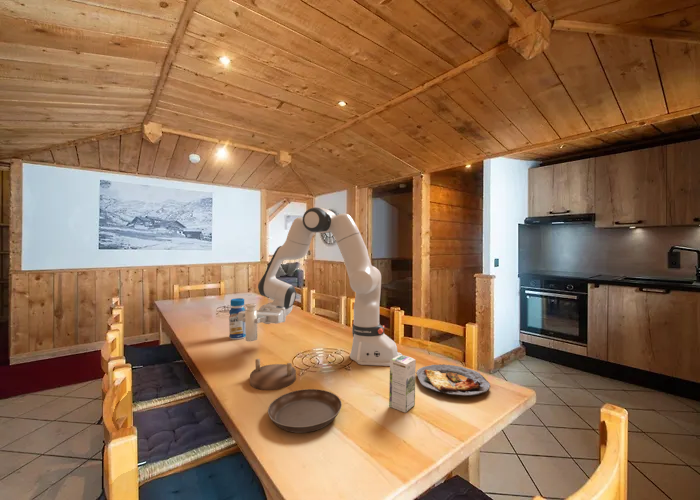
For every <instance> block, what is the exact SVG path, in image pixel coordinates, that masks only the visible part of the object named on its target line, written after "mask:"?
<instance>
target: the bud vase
mask: <svg viewBox="0 0 700 500" xmlns="http://www.w3.org/2000/svg"><path fill="white" fill-rule="evenodd" d="M256 306H257V304H256V303H247V304H245V307H246V309H245V310H246V311H245V332H246V337H245V341H246V342H255V341H257V340H258V323H255V319H256V318H257V310H258V309H256Z"/></svg>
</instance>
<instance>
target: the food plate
mask: <svg viewBox="0 0 700 500" xmlns="http://www.w3.org/2000/svg"><path fill="white" fill-rule="evenodd" d="M443 374H445V375H446V376H447V378H448V379H447V378H446V377H445V376H444V375H443ZM415 375H416V376H417V378H418V381H419V383H420V385H422V386H423V387H424V388H426V389H427V390H431V391H433V392H436V393H439V394H444V395H447V396H464V397H465V396H466V397H473V396H478V395H481V394H485V393H487V392H488V391H490V388H491V383H490V382H489V380H487V379H486V378H485V377H484V376H483V374H481V373H480V372H478V371H476V370H475V369H474V370H473V369H471V368H466V367H463V366H459V365H453V364H444V363H443V364H430V365H427V366H426V365H425V366H422V367H420V368H418V369H417V371H415ZM459 376H462V377H465V378H466V379H462V378H460V377H459Z"/></svg>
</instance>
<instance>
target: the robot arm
mask: <svg viewBox="0 0 700 500" xmlns="http://www.w3.org/2000/svg"><path fill="white" fill-rule="evenodd" d="M316 233H319V234H328V233H331V234H332V236H333V238H334V239H335V242H336V244H337V247H338V250H339V251H340V255H341V256H342V258H343V261H344V262H343V263H344V264H345V265H344V266H345V269H346V272H347V276H348V280H349V286H350V288H351V290H352V292H355V298H354V303H353V324H352V328H351V329H352V330H351V334H352V337H353V338H352V344H351V350H350V354H349V357H350V359H351V360H352V361H354V362H356V363H357V364H358V365H362V366H363V365H364V366H381V367H382V366H384V367H390V360H391V359H393V358H395V357H397V356H399V355H403V354H402V353H401V352H398V346H397V343H396V342H395V340H393V339H392V338H391V337H390V336H388V335H387V334H385V325H383V324H382V325H381V323H380V304H381V303H380V301H381V291H382V290H381V289H382V274H381V271H380V269H378V268H377V267H375V266H374V265H372V262H371V258H370V255H369V250H368V248H367V246H366V243H365V241H364V239H363V236H362V234H361V232H360V230H359V227H358V226H357V224H356V222H355V220H354V219H353V217H351V215H350V214H348V213H340V214H337V213H336V212H335V211H334V210H332V209H327V208H326V207H325V208H324V207H310V208H308V209H307V210H306V211H305V212H303V215H302V216H300V217H299V216H298V217H295V219H294V220H293V221H292V223H291V225H290V228H289V231H288V232H287V237H286V239H285V241H284V243H283V244H282V245H279V246H278V247H277V248H276V250H275V251H274V252H273V255H272V257H271V259H270V261H269V262H268V265H267V268H266V270H265V272H264V273H263V275H262V277H261V278H260V280H259V282H258V285H257V290H258V292H259V295H261V296H263V297H264V298H265V297H266V298H268V299H271V300H273V301H272V302H269V303H265V304H262V305H261V306H260V308H259V309H256V310H257V318H256V319H255V323H257V324H260V323H263V324H265V325H270V324H280V323H285V322H286V317H287V316H288V315H289V314H290V313H291V312H292V310H293V306H294V303H295V301H296V297H297V292H296V290H297V289H296V288H295V286H294V285H293V284H290V283H289V282H285V281H283V280H281V279H278V278H277V277H276V275H277V273H278V270H279V269H280V266H281V264H282V263H283V262H284V261H286V260H289V261H291V260H293V261H294V260H301V259H302V258H304V257H305V256H307V254H308V252H309V250H310V247H311V243H312V240H313V237H314V235H315V234H316ZM246 310H247V309H245V311H246ZM245 311H241V312H239V313H238V320H239V321H242V322H245Z"/></svg>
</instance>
